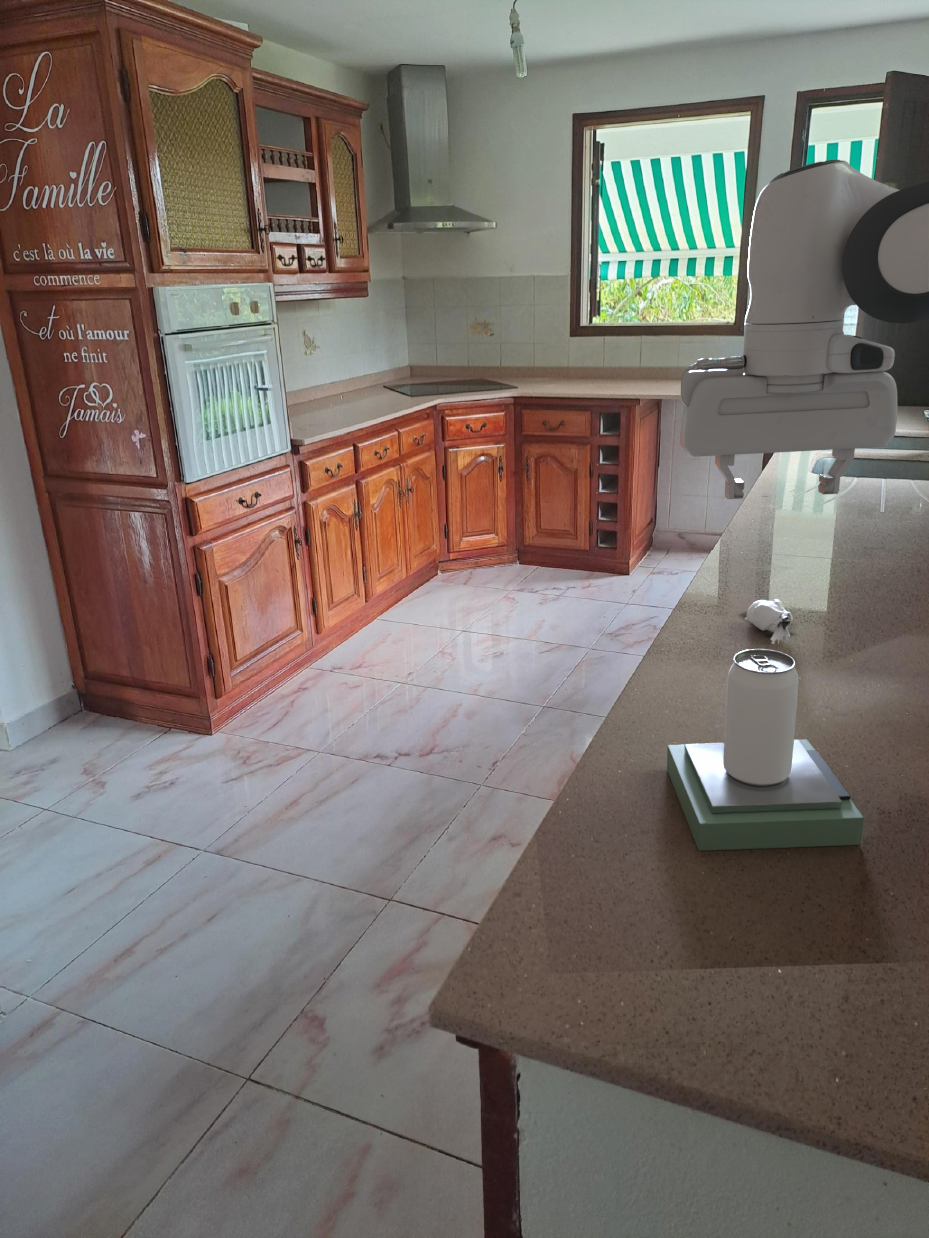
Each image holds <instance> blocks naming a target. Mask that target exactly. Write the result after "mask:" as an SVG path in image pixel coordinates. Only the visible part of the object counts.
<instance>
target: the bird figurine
mask: <svg viewBox="0 0 929 1238" xmlns="http://www.w3.org/2000/svg"><path fill="white" fill-rule="evenodd" d="M743 620H745V621H747V622H750V623H751V624H752V625H754V626H755V627H756V628H758V629H759V630H761V631H769V632H772V633H773V634H772V636H771V637H770V641H771V642H770V644H772V645H775V643H776V641H777V644H780V641H782V640H783V638H784V640H786V642H791V640H789V638H791V633H790V632H789V628H790V626H791V625H792V623H793V621H794V617H793V615H792V612H791V611H787V610H786V608H785V606H784V605H783V602H782V601H781V600H780V599H778V598H774V599H773V600H766V599H760V600H756V601H754V602H753V603H751V605H750V606H749V607H748V608H747V611H746V617H744V618H743Z"/></svg>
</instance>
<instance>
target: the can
mask: <svg viewBox="0 0 929 1238" xmlns="http://www.w3.org/2000/svg"><path fill="white" fill-rule="evenodd" d="M796 663H797V662H796V660H795V659H794V658H793V657H792V656H790V654H787V653H785V652H781V651H778V650H773V649H765V648H755V649H754V648H753V649H745V650H742V651H739V652H738V653H736V654H735V655H734V656H733V663H732V664H731V666H730V668H729V670H728V673H727V681H726V682H727V683H726V684H727V685H726V686H727V687H726V699H725V701H726V702H725V717H724V718H725V720H724V736H723V738H724V739H723V743H724V756H723V766H724V768H725V770H726V771H727V772H728V774H729V775H730V776H731V777H733V778H734V779H736V780H738V781H740V782H743V783H746V784H750V785H755V786H770V785H775V784H778V783H781V782H782V781H784V780H785V779H786V778H788V777H789V775H790V773H791V766H792V756H793V745H794V740H795V734H796V722H797V709H798V698H799V697H798V696H799V685H800V684H799V681H800V679H799V675H798V672H797V670H796V668H795V667H796Z"/></svg>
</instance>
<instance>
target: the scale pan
mask: <svg viewBox="0 0 929 1238" xmlns="http://www.w3.org/2000/svg"><path fill="white" fill-rule="evenodd" d="M799 740H800V739H794V745H793V756H792V766H791V773H790V775H789V777H788V778H786V779H785V780H784V781H782V782H781V783H778V784H775V785H770V786H755V785H750V784H746V783H743V782H740V781H738V780H736V779H734V778H733V777H731V776H730V775H729V774H728V772H727V771H726V770H725V768H724V766H723V756H724V742H709V743H685V744H684V745H685V749H684V751H685V753H686V755H687V757H688V760H689V762H690V764H691V767H692V769H693V771H694V773H695V776H696V778H697V780H698V782H699V785H700V787H701V789H702V791H703V794H704V796H705V798H706V800H707V803H708V805H709V807H710V810H711V812H712V813H736V812H762V811H788V810H814V809H839V808H841V805H842V801H841V799H840V798H839V797H838V795H837V794H836V792H835V791H834V789H833V788H832V787H831V785H830V784H829V782H828V781H827V779H826V778H825V777H824V775H823V774H822V772H821V771H820V770H819V768H818V767H817V765H816V764H815V762H814V761H813V760H812V758H811V757H810V755H809V754H808V753H807V751H806V750H805V748H804V747H803V745H802V744H801V743H800V741H799Z"/></svg>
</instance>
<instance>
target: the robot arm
mask: <svg viewBox="0 0 929 1238" xmlns="http://www.w3.org/2000/svg"><path fill="white" fill-rule="evenodd" d="M749 235H750V236H749V246H748V258H747V280H748V283H749V289H750V290H749V291H750V298H749V305H748V309H747V311H746V314H745V317H744V329H743V346H742V347H743V348H742V350H743V351H742V353H743V354H742V355H737V356H725V357H718V358H712V357H704V358H700V359H699V358H698V359H697V360H696V362H695V363H692V364H690V365H689V366H688V367H687V368H686V369H685V370H684V371H683V373H682V376H681V378H680V398H681V400H682V402H683V405H684V406H683V411H682V418H681V424H680V434H679V444H680V446H681V448H682V449H683V450H684V451H685V452H686V453H687V454H688V455H690V456H691V457H695V458H696V457H697V458H698V457H700V458H701V457H714V464H715V465H716V467H717V469H718V471H719V472H720V475H721V476H722V478H723V479H724V497H725V499H727V500H739V499H740V500H741V499H744V494H745V493H744V489H745V481H744V480H742V479H741V478H735V476H734V475H733V472H732V471H731V469H730V467H733V466H734V465H735V459H736V457H735V456H737V455H753V454H754V455H757V454H775V453H776V454H777V453H795V452H814V451H815V452H816V451H832V452H831V456H832V457H834V458H835V460H834V462H833V463H832V464H831V466H830V468H829V470H828V471H827V473H821V474H819V475H818V482H819V483H818V486H817V491H818V493H819V494H821V495H838V494H839V492H840V485H841V478H842V477H843V476H844V475H845V473H846V471H848V469H849V467H850V466H851V464H852V463H853V462H854V460H855V452H856V449H873V448H874V449H875V448H885V447H886V446H888V444H889V443H890V442H891V441H892V440H893V438H894V437H895V435H896V430H897V423H898V387H897V383H896V380H895V378H894V377H893V376H892V375H891V374H890V373H889V372H887V371H889V370H890V369H891V368H893V365H894V364H895V357H896V353H895V349H893V347H891V346H890V345H889V346H888V345H885V344H882V343H878V342H874V341H872V340H868V339H863V337H862V336H858V335H853V334H845V331H844V323H845V313H846V311H847V309H848V308H849V307H851V306H857V307H858V308H859V309H860V310H861V311H862V312H864V313H865V314H866V315H868V316H869V317H872V318H874V319H876V320H879V321H881V322H885V323H890V324H911V323H912V324H913V323H917V322H922V321H925V320H928V319H929V180H928V181H925V182H922V183H918V184H914V185H911V186H907V187H904V188H901V189H898V188H895V187H892V186H891V185H887V184H885V183H883V182H879V181H878V180H876V179H874V178H872V177H869V176H868V175H865V174H864V173H862V172H860V171H859V170H857V169H856V168H854V167H853V166H852V165H851V164H850V163H849V162H848V161H846V160H841V159H827V160H825V161H817V162H812V163H809V164H806V165H802V166H798V167H795V168H791V169H789V170H787V171H785V172H781V173H780V174H778V175H776V176H775V177H774V178H772V179H771V180H769V182H768V183H766V184H765V186H764V187H763V188H762V190H761V191H760V192H759V195H758V197H757V199H756V202H755V205H754V210H753V215H752V221H751V228H750V234H749ZM693 369H697V370H693Z"/></svg>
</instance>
